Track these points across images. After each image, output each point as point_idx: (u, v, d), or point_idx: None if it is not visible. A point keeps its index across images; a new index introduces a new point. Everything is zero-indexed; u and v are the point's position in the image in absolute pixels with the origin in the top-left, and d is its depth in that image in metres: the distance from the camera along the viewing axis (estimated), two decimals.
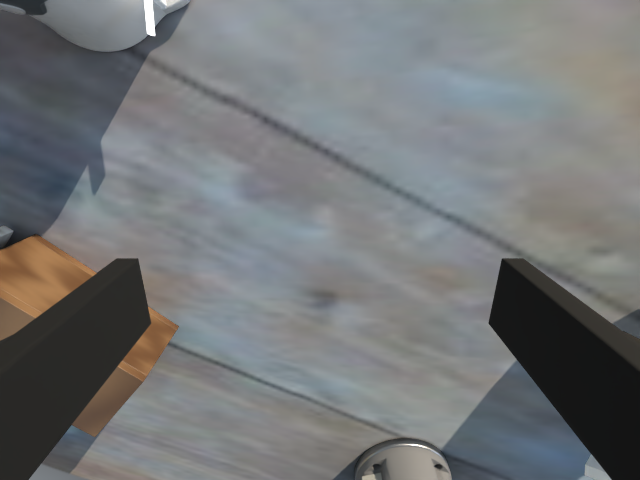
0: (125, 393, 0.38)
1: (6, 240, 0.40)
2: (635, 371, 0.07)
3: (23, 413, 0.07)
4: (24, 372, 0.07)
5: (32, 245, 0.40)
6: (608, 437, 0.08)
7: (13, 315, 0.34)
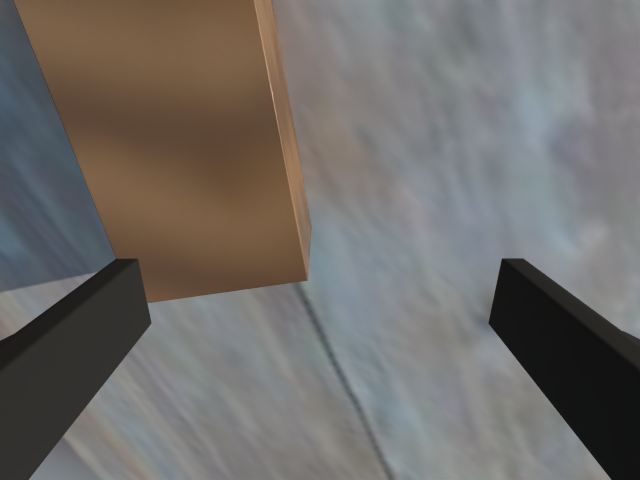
0: (260, 277, 0.21)
1: None
2: (635, 371, 0.07)
3: (23, 413, 0.07)
4: (24, 372, 0.07)
5: None
6: (608, 437, 0.08)
7: (232, 16, 0.16)
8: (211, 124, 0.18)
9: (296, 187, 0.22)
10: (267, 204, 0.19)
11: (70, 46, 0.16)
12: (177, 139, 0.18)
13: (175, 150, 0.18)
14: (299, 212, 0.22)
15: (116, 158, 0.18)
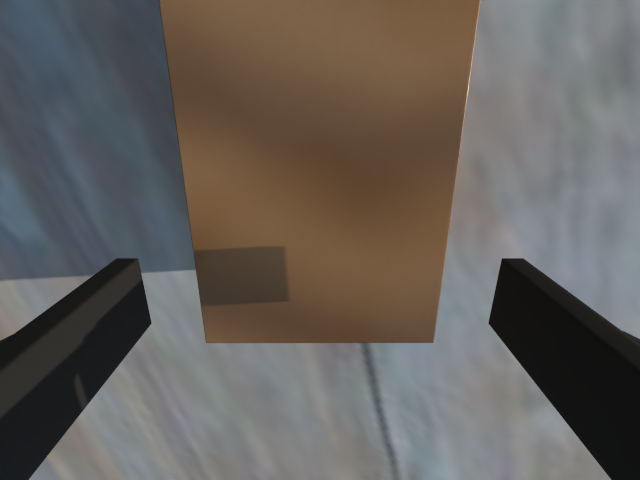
0: (376, 331, 0.16)
1: None
2: (635, 371, 0.07)
3: (23, 413, 0.07)
4: (24, 372, 0.07)
5: None
6: (608, 437, 0.08)
7: None
8: (374, 134, 0.13)
9: None
10: (414, 245, 0.15)
11: None
12: (323, 146, 0.13)
13: (316, 160, 0.13)
14: None
15: (234, 157, 0.13)
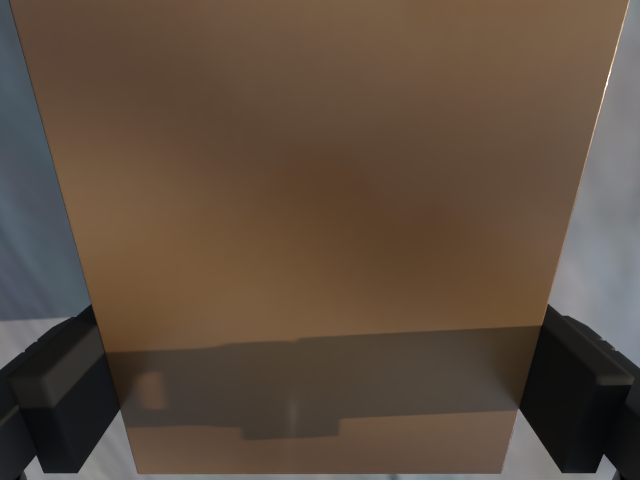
0: (411, 459, 0.10)
1: None
2: (562, 347, 0.08)
3: (90, 387, 0.08)
4: (91, 350, 0.08)
5: None
6: (543, 410, 0.08)
7: None
8: (423, 142, 0.07)
9: None
10: (483, 334, 0.08)
11: None
12: (326, 165, 0.07)
13: (313, 191, 0.07)
14: None
15: (159, 186, 0.07)
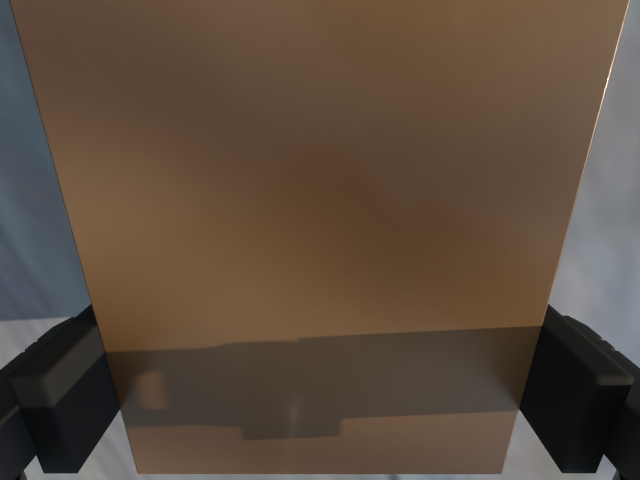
0: (411, 459, 0.10)
1: None
2: (562, 347, 0.08)
3: (90, 387, 0.08)
4: (91, 350, 0.08)
5: None
6: (543, 410, 0.08)
7: None
8: (423, 142, 0.07)
9: None
10: (483, 334, 0.08)
11: None
12: (325, 165, 0.07)
13: (312, 190, 0.07)
14: None
15: (159, 186, 0.07)
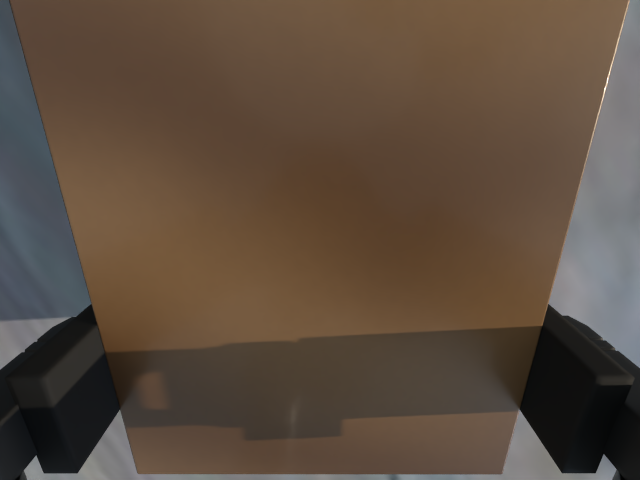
0: (411, 459, 0.10)
1: None
2: (562, 347, 0.08)
3: (90, 387, 0.08)
4: (90, 350, 0.08)
5: None
6: (543, 410, 0.08)
7: None
8: (423, 142, 0.07)
9: None
10: (483, 334, 0.08)
11: None
12: (325, 164, 0.07)
13: (312, 190, 0.07)
14: None
15: (159, 185, 0.07)
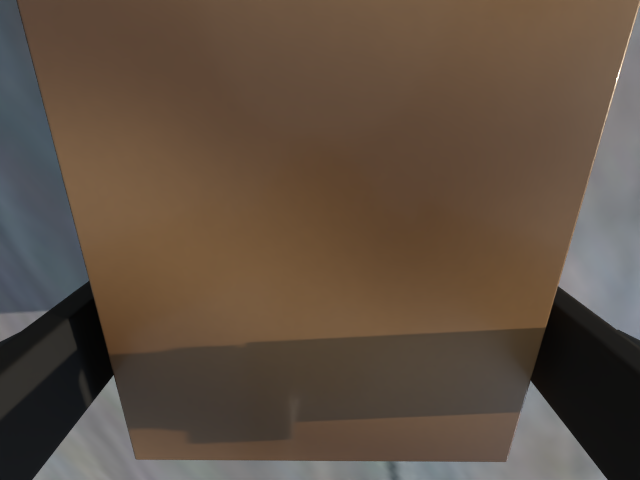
0: (415, 446, 0.10)
1: None
2: (628, 368, 0.07)
3: (30, 410, 0.07)
4: (31, 370, 0.08)
5: None
6: (602, 434, 0.08)
7: None
8: (434, 114, 0.07)
9: None
10: (491, 317, 0.08)
11: None
12: (333, 137, 0.07)
13: (319, 164, 0.07)
14: None
15: (161, 157, 0.07)
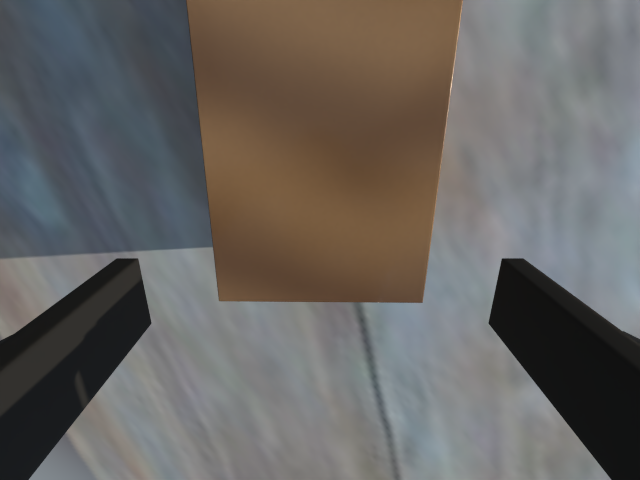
0: (371, 292, 0.18)
1: None
2: (635, 371, 0.07)
3: (23, 413, 0.07)
4: (24, 372, 0.07)
5: None
6: (608, 437, 0.08)
7: None
8: (371, 111, 0.15)
9: None
10: (405, 212, 0.17)
11: None
12: (325, 121, 0.15)
13: (320, 134, 0.15)
14: None
15: (247, 131, 0.15)
